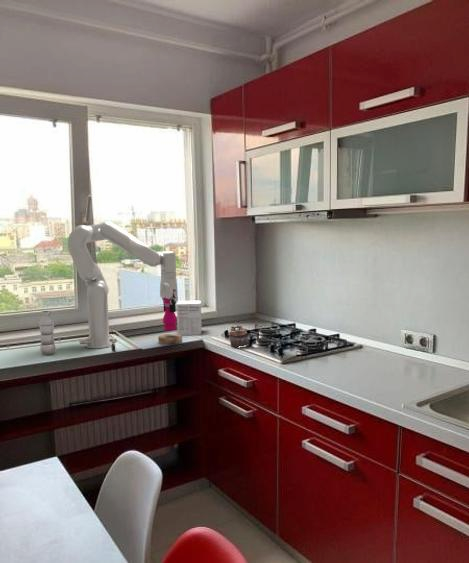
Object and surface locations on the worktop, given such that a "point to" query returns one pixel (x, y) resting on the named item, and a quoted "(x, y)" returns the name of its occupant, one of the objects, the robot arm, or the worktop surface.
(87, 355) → the worktop surface
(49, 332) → the plastic bottle
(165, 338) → the walnut pedestal
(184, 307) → the supplement box
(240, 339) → the cupcake
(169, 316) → the pepper mill
